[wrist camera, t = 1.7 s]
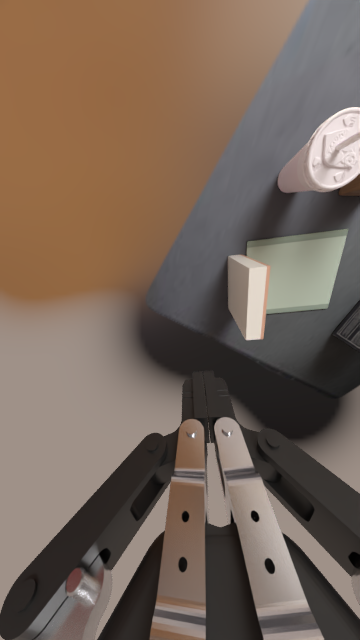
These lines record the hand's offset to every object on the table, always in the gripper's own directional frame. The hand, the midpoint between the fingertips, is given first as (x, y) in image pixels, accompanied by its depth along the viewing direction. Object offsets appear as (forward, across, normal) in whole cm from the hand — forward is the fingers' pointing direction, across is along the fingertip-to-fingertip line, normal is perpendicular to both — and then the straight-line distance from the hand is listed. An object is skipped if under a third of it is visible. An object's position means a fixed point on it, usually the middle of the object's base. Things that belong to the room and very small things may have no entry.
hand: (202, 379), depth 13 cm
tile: (+24, -8, 0) cm, 25 cm away
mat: (+24, -18, 0) cm, 30 cm away
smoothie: (+24, -16, -15) cm, 33 cm away
